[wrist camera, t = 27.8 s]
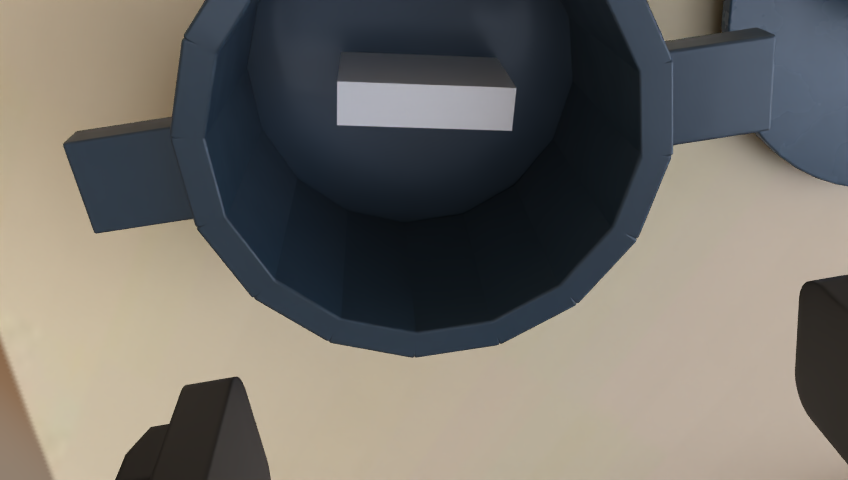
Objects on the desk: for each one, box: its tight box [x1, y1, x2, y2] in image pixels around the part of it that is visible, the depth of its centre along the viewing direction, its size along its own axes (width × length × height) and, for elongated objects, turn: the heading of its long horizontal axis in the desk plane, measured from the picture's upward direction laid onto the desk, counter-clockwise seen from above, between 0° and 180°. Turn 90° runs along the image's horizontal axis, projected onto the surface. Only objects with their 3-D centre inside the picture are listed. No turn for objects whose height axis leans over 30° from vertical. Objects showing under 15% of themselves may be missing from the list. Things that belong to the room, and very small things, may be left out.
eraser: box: [337, 52, 516, 131], centre depth 23 cm, size 1×5×4 cm, turn 87°
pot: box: [63, 0, 776, 358], centre depth 22 cm, size 12×17×7 cm
